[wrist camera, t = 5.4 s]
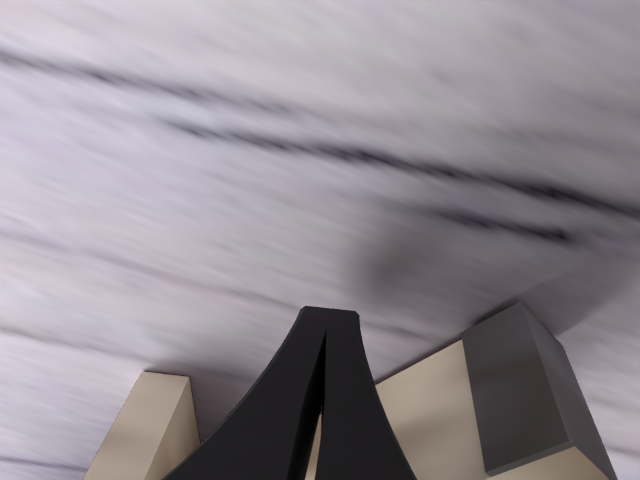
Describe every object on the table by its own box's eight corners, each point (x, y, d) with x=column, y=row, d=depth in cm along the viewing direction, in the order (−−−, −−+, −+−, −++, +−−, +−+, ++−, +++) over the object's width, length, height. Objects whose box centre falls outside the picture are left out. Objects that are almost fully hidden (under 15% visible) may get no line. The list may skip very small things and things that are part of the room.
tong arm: (266, 486, 18) (238, 610, 15) (225, 459, 18) (188, 584, 14) (563, 346, 13) (622, 491, 10) (520, 300, 12) (569, 440, 9)
